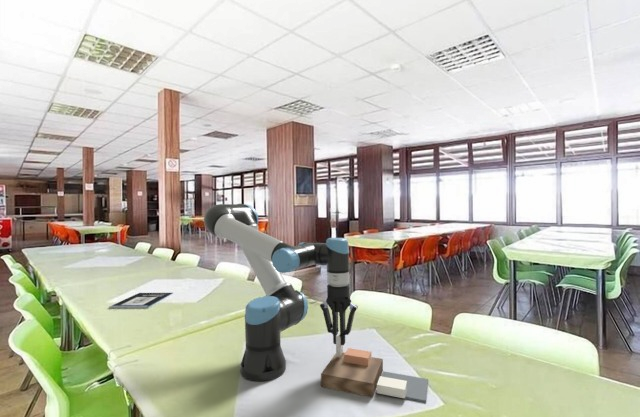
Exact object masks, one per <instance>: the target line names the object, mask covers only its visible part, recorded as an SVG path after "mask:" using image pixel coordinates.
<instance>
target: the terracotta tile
mask: <svg viewBox="0 0 640 417" xmlns="http://www.w3.org/2000/svg"><path fill="white" fill-rule="evenodd" d="M344 353H345V354H344V362H347V363H353V364H359V365H365V366H368V365H369V363H370V361H371V357H372V351H371V350H370V351H368V350H361V349H355V348H352V347H351V348H347V349H346V351H345V352H344Z"/></svg>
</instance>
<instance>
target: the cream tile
mask: <svg viewBox="0 0 640 417" xmlns="http://www.w3.org/2000/svg"><path fill="white" fill-rule="evenodd" d="M376 390H377V393H376V394H379V395H385V396H389V397H390V396H391V397H396V398H400V399H405V397H406V391H407V381H405V380H399V379H393V378H388V377H382V375H381V376H380V378H379V380H378V383H377V388H376Z"/></svg>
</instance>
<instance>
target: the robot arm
mask: <svg viewBox="0 0 640 417" xmlns="http://www.w3.org/2000/svg"><path fill="white" fill-rule="evenodd" d="M258 219H259V215H258V212H257V210H256V209H255V208H254V207H253V206H252V205H250V204H244V203H232V204H231V203H230V204H228V203H227V204H225V203H221V204H215V205H213V206H211V207H210V208H209V209H207V211H206V213H205V214H204V218H203V224H204V227H205V230H206V231H207V232H208V233H209V234H211V235H212V236H214V237H217V238H218V239H222V240H223V239H224V240H225V239H226V240H229V241H230V242H232V243H234V244H236V245H238V246H239V247H240V248H241V250H242V252H243V254H244V256H245V258H246V260H247V261H248V264H249V265H250V267H251V268H252V271H253V273H254V275H255V277H256V279H257V280H258V282H259V284H260V286H261V287H262V289H263V292H264V293H265V295H264V296H259V297H256V298H254V299H252V300H250V301H249V302H248V303H247V304H246V305H245V313H244V327H245V328H244V329H245V332H244V335H245V350H244V353H243V356H242V360H241V362H240V375H241V377H243V378H244V379H246V380H249V381H254V382H265V381H270V380H274V379H276V378H279V377H280V376H282V375H283V374H284V373H285V372H286V370H287V369H286V368H287V361H286V358H285V355H284V352H283V348H282V345H281V333H282V332H283V331H285V330H287V329H289V328H290V327H293V326H296V325H298V324H299V323H300V322H301V321H303V320H304V319H305V318H306V316H307V314H308V309H309V303H308V302H309V301H308V299H307V297H306V295H305V294H304V293H303V292H302V291H299V290H297V289H296V290H295V288H294V286H293V285H292V283H289V282H286V280H285V279H284V277H283V275H282V274H283V273H284V274H285V273H291V272H294V271H298V270H301V269H303V268H306V267H309V266H310V267H311V266H313V265H314V266H315V265H317V266H326V283H327V286H326V295H327V297H326V299H325V301H324V302H322V303H320V304H319V307H320V308H321V310H322V314H323V316H324V317H323V318H324V321H325V327H326V330H327V333H331V334H332V338H333V339H332V340H333V341H332V342H333V345H335V354H336V355H338V356H341V354H342V353H344V348H343V347H344V346H345V344H346V336H348V335H350V333H351V331H352V326H353V322H354V318H355V312H356V311H357V309H358V306H359V305H357V304H353V303H352V300H351V298H350V297H351V294H350V292H351V290H350V284H349V283H350V249H349V248H350V247H349V240H348V239H347V238H345V237H328V238H327V239H326V240H325V243H322V242H321V243H319V242H310V241H307V242H300V243H298V244H297V245H295V246H292V245H291V244H287V243H286V242H284V241H283V240H280V239H278V238H276V237H273V236H271V235H269V234H267V233H264V232H263V231H261V230H259V228H260V227H259V220H258ZM348 308H349V315H348V318H347V323H346V313H347V312H346V311H347V310H348ZM330 310H331V314H330ZM331 315H332V316H331Z"/></svg>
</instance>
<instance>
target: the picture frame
mask: <svg viewBox="0 0 640 417" xmlns="http://www.w3.org/2000/svg"><path fill="white" fill-rule="evenodd" d="M173 294H174V292H138V293H135V294H133V295H131V296H130V297H127V298H125V299H123V300H121V301H118V302H117V303H114V304H111V305H110V306H109V307H108V308H109V310H112V309H113V310H117V309H118V310H120V309H121V310H131V309H133V310H134V309H136V310H137V309H139V310H140V309H141V310H142V309H150V308H152V307H153V306H155V305H157V304H158V303H160V302H161V301H163V300H165V299H167V298H169V297H170V296H172V295H173Z"/></svg>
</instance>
